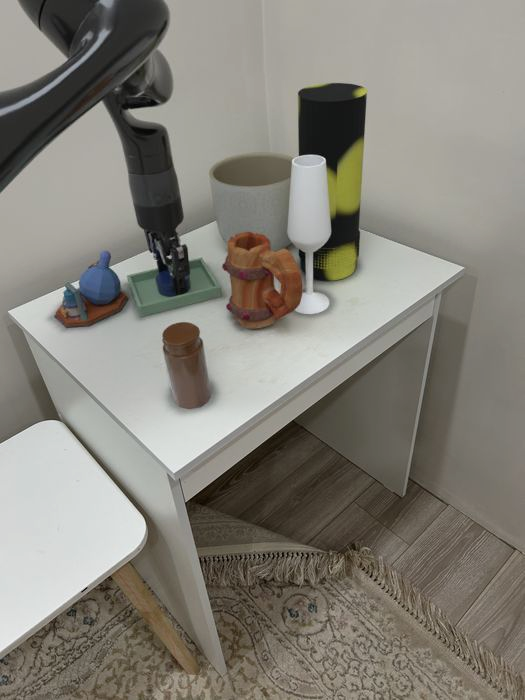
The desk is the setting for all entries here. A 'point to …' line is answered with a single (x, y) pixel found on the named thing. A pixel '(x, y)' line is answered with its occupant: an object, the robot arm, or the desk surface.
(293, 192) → the champagne flute
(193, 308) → the desk surface
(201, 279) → the tray
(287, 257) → the mug
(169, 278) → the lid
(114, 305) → the model
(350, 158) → the container
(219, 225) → the planter
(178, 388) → the jar
